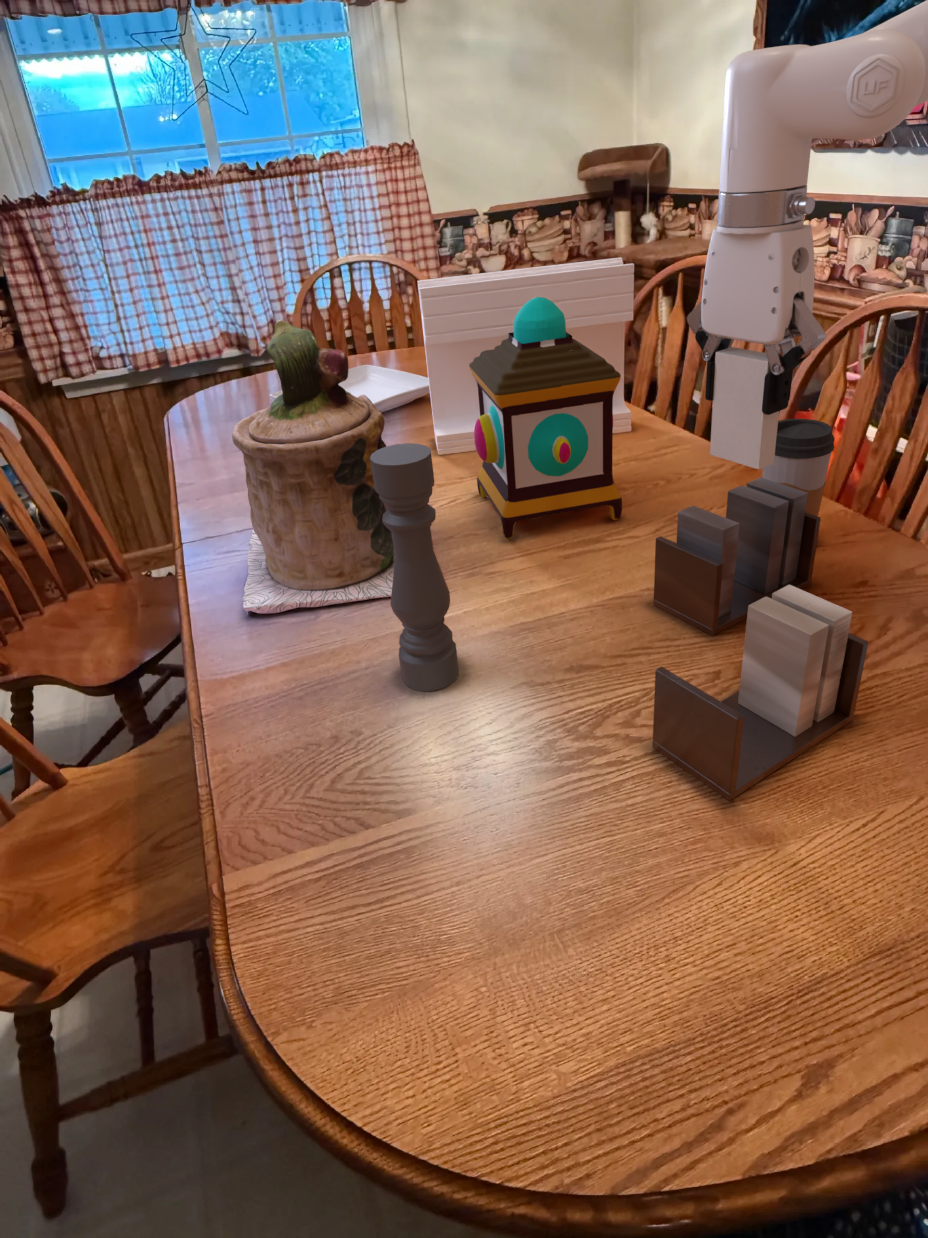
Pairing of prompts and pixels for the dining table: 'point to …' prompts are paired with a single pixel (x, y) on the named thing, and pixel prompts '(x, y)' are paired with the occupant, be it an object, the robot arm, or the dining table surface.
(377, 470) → the candle holder
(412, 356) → the dining table surface
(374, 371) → the square plate
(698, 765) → the dark brown rack
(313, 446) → the cookie jar
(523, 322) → the decorative lantern
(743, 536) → the dark brown wooden holder
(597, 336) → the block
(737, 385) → the white book
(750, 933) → the dining table surface
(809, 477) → the coffee cup
